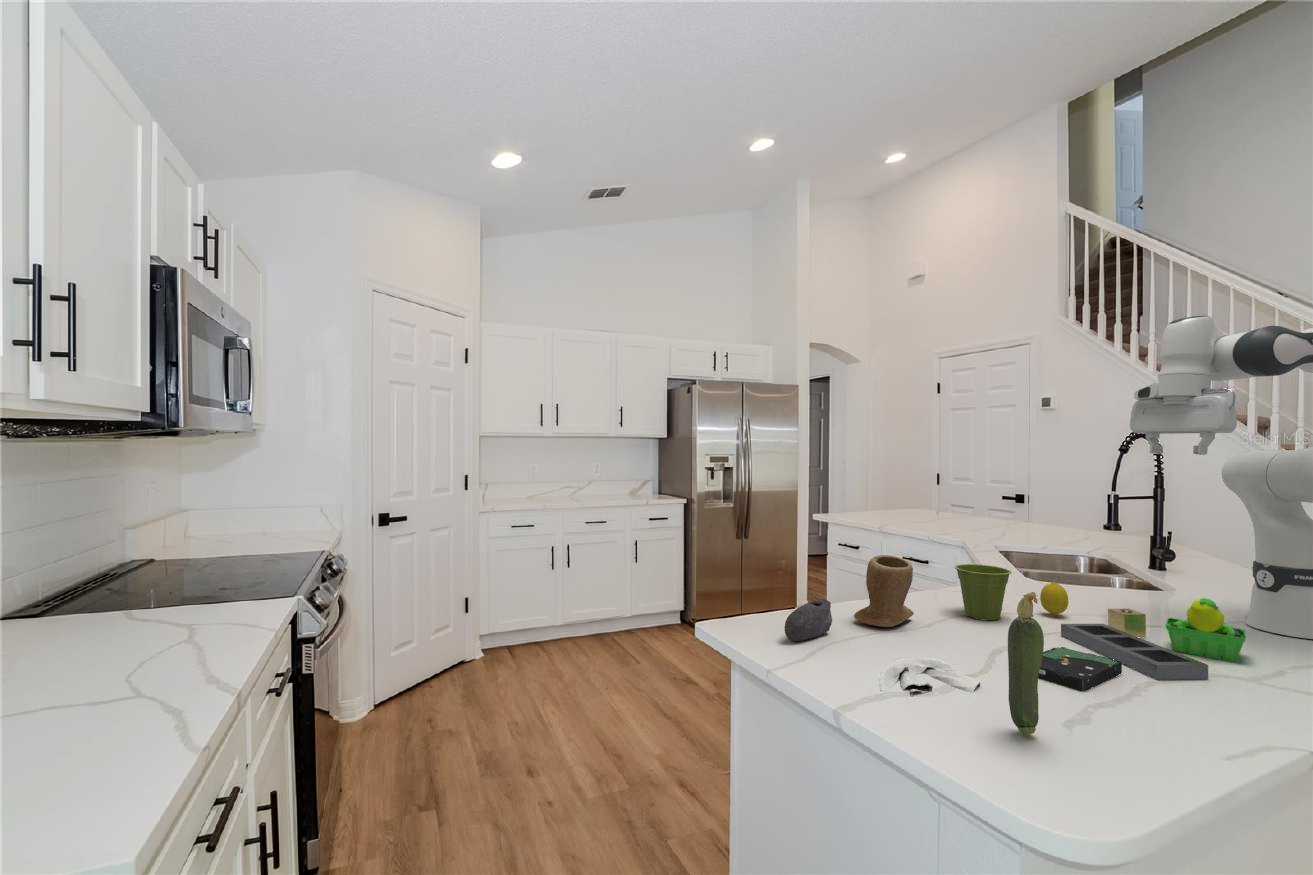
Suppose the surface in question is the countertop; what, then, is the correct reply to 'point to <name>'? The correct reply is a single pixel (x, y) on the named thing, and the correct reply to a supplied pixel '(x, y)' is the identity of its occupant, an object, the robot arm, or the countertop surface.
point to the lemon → (1054, 598)
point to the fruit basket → (1205, 633)
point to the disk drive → (1077, 668)
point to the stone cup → (887, 591)
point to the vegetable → (1024, 666)
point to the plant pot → (982, 589)
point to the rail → (1135, 652)
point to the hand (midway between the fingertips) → (1177, 454)
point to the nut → (1128, 621)
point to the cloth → (911, 667)
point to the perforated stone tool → (809, 621)
